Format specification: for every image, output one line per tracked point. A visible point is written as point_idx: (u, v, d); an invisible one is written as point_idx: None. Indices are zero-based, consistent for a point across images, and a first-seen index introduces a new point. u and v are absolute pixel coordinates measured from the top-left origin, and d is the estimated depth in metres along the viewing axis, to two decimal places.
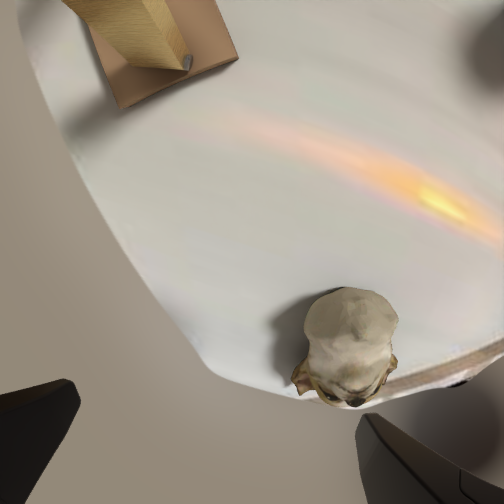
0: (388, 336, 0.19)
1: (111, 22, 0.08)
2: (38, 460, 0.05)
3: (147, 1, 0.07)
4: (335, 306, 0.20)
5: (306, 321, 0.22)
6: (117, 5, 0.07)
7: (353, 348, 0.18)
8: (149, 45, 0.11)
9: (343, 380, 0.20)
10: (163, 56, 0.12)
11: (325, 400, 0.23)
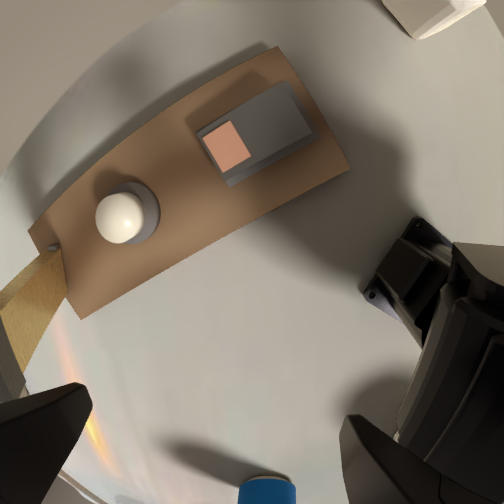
0: None
1: None
2: (50, 466, 0.05)
3: None
4: None
5: None
6: None
7: None
8: None
9: None
10: None
11: None
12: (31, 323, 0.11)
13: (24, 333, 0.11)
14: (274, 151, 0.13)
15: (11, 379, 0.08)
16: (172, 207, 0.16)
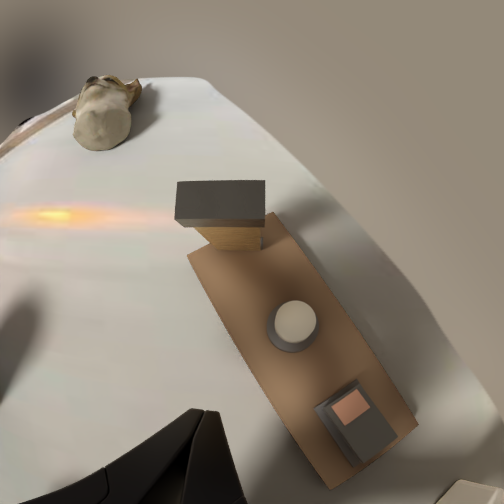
0: (76, 120, 0.27)
1: None
2: None
3: None
4: (110, 130, 0.28)
5: (129, 119, 0.30)
6: None
7: (95, 107, 0.26)
8: None
9: (100, 89, 0.27)
10: None
11: (113, 77, 0.30)
12: (224, 234, 0.16)
13: (221, 230, 0.15)
14: (348, 441, 0.15)
15: (200, 222, 0.12)
16: (296, 362, 0.19)
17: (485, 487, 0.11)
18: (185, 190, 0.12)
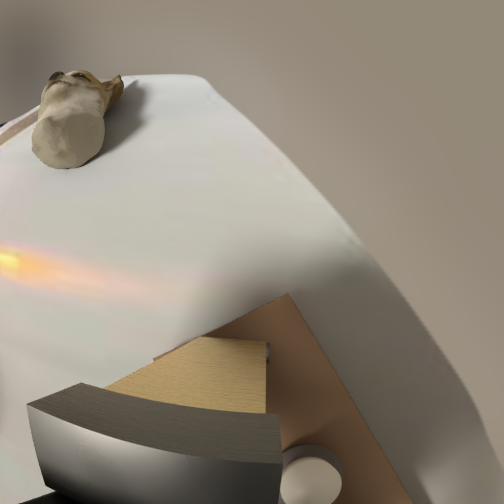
0: None
1: (223, 366, 0.08)
2: None
3: None
4: (75, 142, 0.20)
5: (101, 126, 0.22)
6: (180, 375, 0.07)
7: (54, 112, 0.18)
8: (207, 349, 0.11)
9: (65, 88, 0.19)
10: (206, 343, 0.12)
11: (85, 72, 0.22)
12: None
13: None
14: None
15: None
16: None
17: None
18: (47, 436, 0.03)
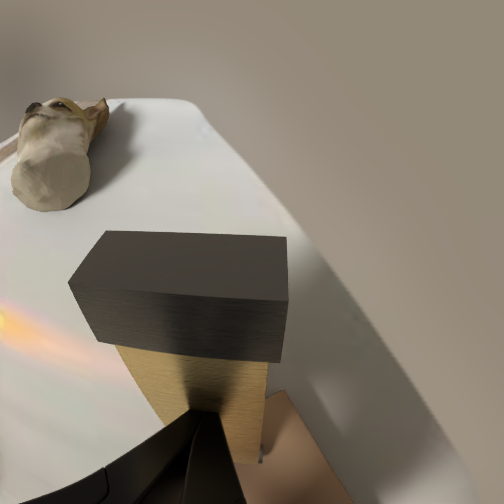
0: None
1: None
2: None
3: None
4: (59, 186, 0.18)
5: (86, 165, 0.20)
6: None
7: (32, 153, 0.16)
8: None
9: (43, 122, 0.17)
10: None
11: (65, 100, 0.20)
12: (190, 405, 0.07)
13: (183, 388, 0.06)
14: None
15: (122, 312, 0.05)
16: None
17: None
18: (113, 241, 0.05)
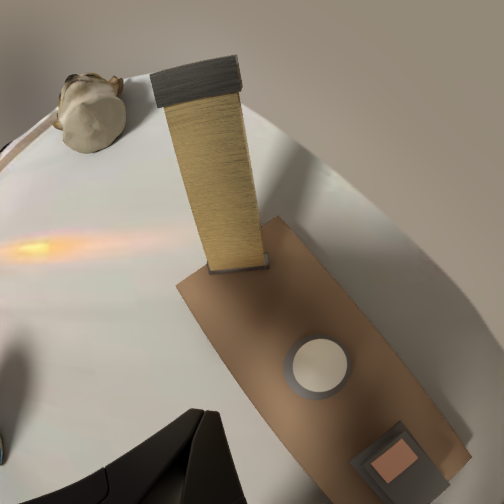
0: (65, 121, 0.23)
1: None
2: None
3: None
4: (106, 122, 0.24)
5: (123, 107, 0.26)
6: None
7: (84, 100, 0.22)
8: None
9: (84, 84, 0.23)
10: None
11: (92, 73, 0.26)
12: (204, 158, 0.13)
13: (199, 138, 0.12)
14: (391, 498, 0.10)
15: (173, 80, 0.10)
16: (324, 411, 0.14)
17: None
18: None
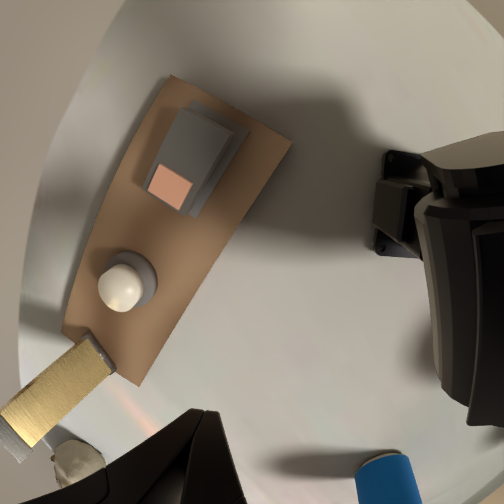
0: None
1: None
2: None
3: None
4: (71, 454, 0.24)
5: (58, 446, 0.25)
6: None
7: None
8: None
9: (62, 483, 0.22)
10: None
11: None
12: (42, 412, 0.14)
13: (33, 421, 0.13)
14: (209, 168, 0.14)
15: (15, 449, 0.11)
16: (160, 258, 0.18)
17: None
18: None
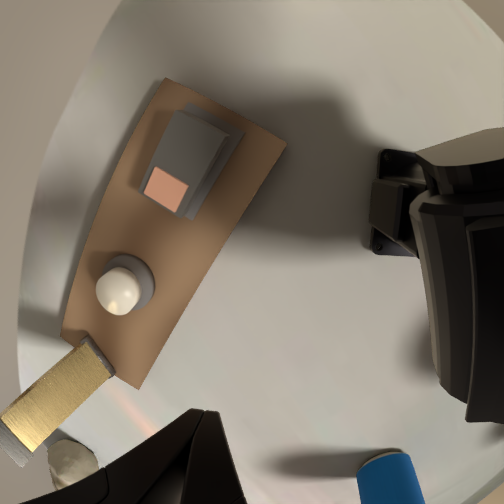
0: None
1: None
2: None
3: None
4: (61, 452, 0.24)
5: (51, 446, 0.25)
6: None
7: None
8: None
9: (56, 483, 0.22)
10: None
11: None
12: (42, 417, 0.14)
13: (33, 425, 0.13)
14: (204, 170, 0.14)
15: (15, 454, 0.11)
16: (157, 261, 0.17)
17: None
18: None
